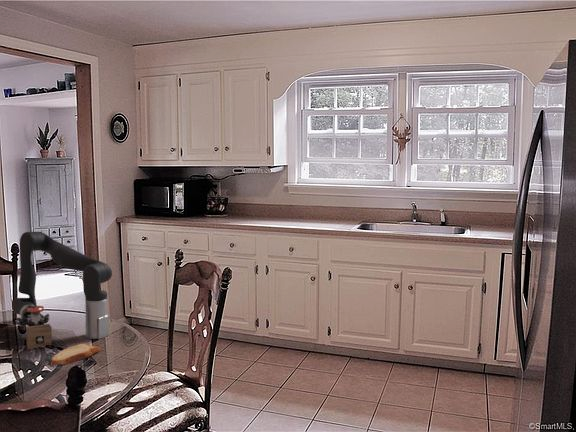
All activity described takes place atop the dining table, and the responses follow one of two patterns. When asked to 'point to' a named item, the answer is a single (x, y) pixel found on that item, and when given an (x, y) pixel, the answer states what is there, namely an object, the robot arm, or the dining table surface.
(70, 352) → the seeded bread slice
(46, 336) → the brown striped block
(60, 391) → the dining table surface
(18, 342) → the dining table surface
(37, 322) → the copper-capped metal peg
